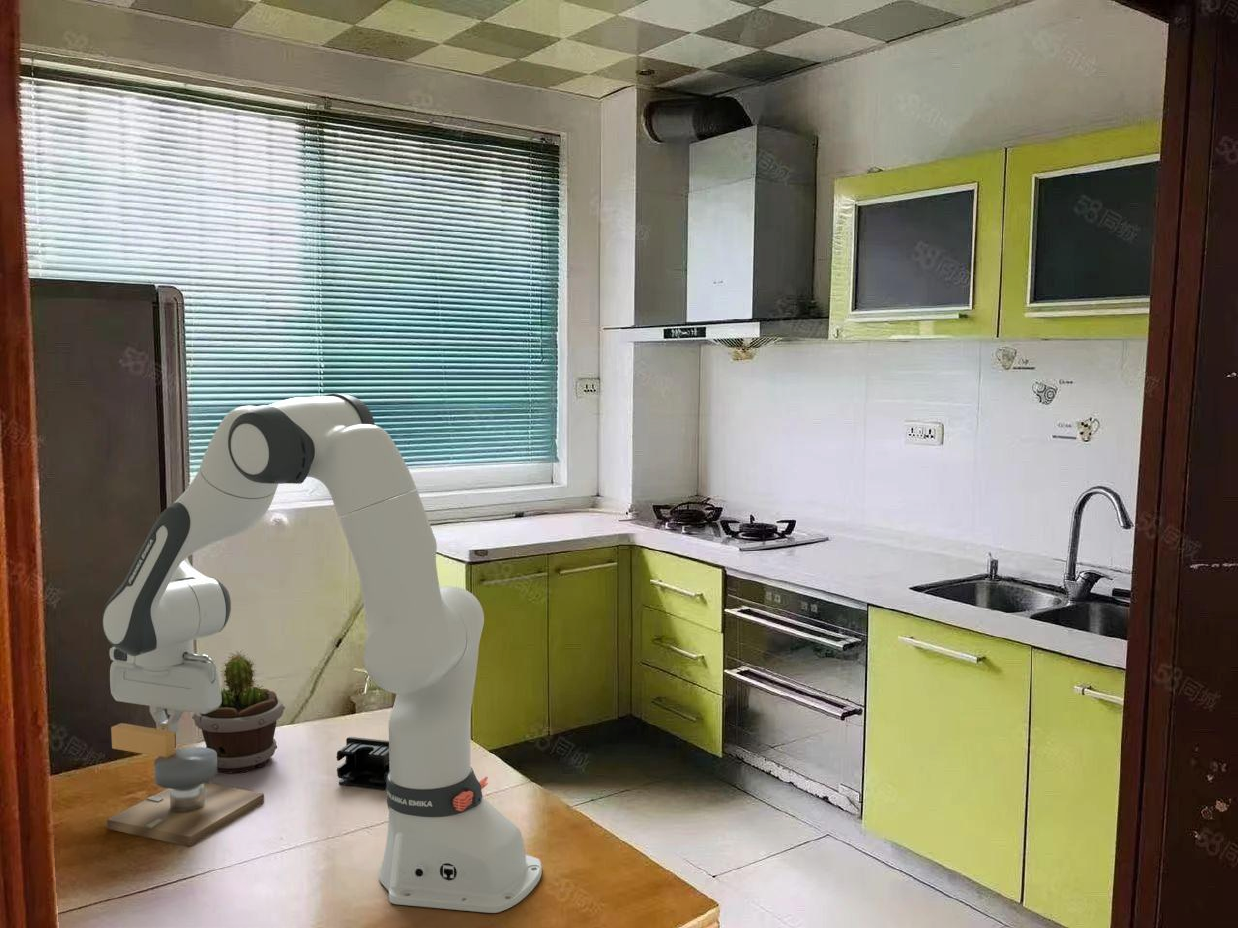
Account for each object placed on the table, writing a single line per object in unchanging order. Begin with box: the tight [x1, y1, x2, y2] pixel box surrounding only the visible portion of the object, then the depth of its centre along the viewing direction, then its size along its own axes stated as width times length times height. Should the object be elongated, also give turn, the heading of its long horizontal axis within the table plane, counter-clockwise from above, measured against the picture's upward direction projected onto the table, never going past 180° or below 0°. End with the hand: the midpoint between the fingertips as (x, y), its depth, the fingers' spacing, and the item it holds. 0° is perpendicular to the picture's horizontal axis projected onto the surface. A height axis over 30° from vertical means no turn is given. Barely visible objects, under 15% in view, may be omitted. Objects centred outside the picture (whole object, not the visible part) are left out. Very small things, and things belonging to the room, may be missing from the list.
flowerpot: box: [191, 649, 286, 774], centre depth 177 cm, size 14×15×20 cm
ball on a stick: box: [110, 722, 218, 789], centre depth 158 cm, size 18×9×6 cm, turn 70°
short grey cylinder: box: [169, 783, 205, 813], centre depth 156 cm, size 5×5×4 cm
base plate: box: [106, 782, 265, 847], centre depth 157 cm, size 16×16×2 cm
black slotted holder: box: [336, 736, 390, 791], centre depth 170 cm, size 10×7×7 cm
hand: (167, 732), depth 164 cm, fingers closed
